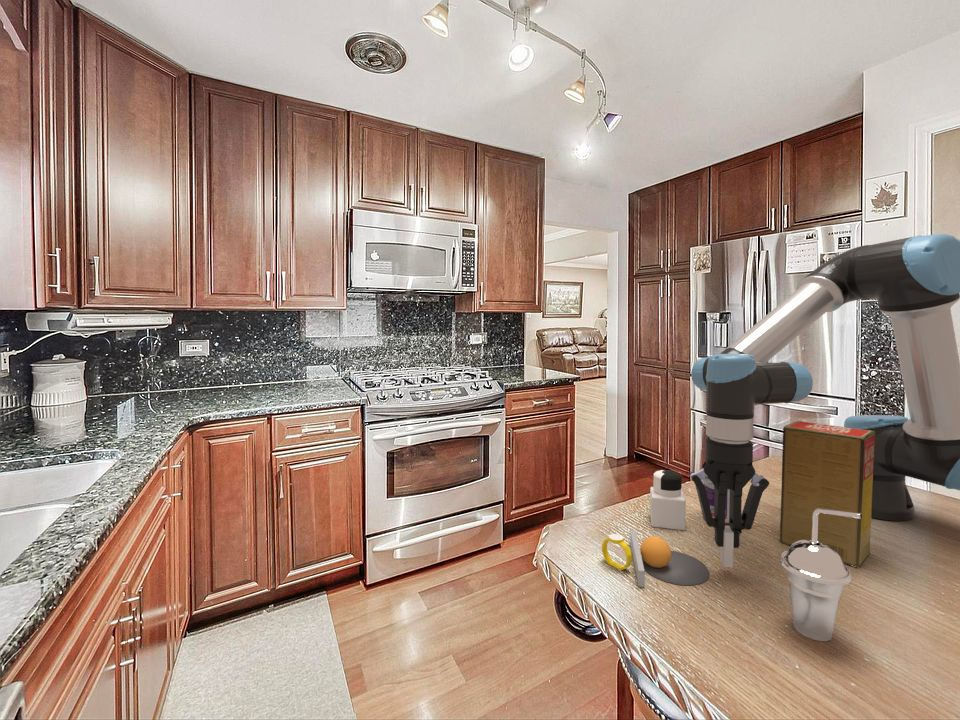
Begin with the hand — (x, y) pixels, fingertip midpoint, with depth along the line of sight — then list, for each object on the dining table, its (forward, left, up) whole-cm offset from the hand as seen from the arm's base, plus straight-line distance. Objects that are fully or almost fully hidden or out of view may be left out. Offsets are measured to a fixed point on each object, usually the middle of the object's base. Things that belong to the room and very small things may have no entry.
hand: (726, 562), depth 81 cm
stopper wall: (+16, 0, -2) cm, 16 cm away
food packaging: (-22, -14, -2) cm, 26 cm away
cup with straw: (-8, +14, -2) cm, 17 cm away
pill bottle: (-6, -25, -2) cm, 26 cm away
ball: (+12, 0, +1) cm, 12 cm away
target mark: (+9, 0, -2) cm, 9 cm away
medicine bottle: (+7, -20, -2) cm, 21 cm away
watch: (+20, +2, -2) cm, 20 cm away
